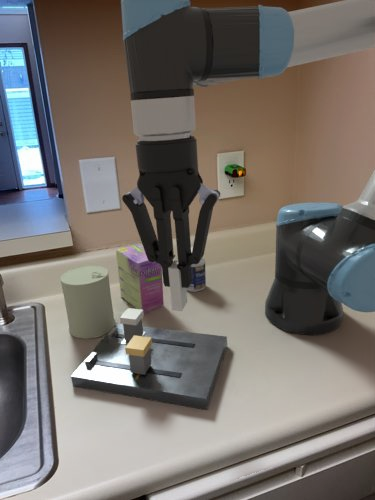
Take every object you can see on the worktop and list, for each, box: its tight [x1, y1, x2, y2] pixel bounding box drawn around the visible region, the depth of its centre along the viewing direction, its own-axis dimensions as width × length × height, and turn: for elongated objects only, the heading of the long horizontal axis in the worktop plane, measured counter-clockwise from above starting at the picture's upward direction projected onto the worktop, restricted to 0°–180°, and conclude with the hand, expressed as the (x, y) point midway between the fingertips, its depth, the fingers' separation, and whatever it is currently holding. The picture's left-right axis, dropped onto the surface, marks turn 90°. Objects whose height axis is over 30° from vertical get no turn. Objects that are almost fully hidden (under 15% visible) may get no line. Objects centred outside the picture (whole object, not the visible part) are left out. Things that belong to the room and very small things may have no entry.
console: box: [70, 322, 228, 411], centre depth 65 cm, size 22×16×3 cm
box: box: [115, 244, 165, 314], centre depth 85 cm, size 10×6×12 cm, turn 35°
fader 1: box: [119, 307, 145, 341], centre depth 69 cm, size 3×3×5 cm
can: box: [59, 265, 116, 340], centre depth 76 cm, size 9×9×12 cm
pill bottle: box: [186, 246, 207, 293], centre depth 91 cm, size 5×5×10 cm
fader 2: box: [125, 335, 152, 375], centre depth 60 cm, size 3×3×5 cm
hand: (179, 305), depth 55 cm, fingers closed
